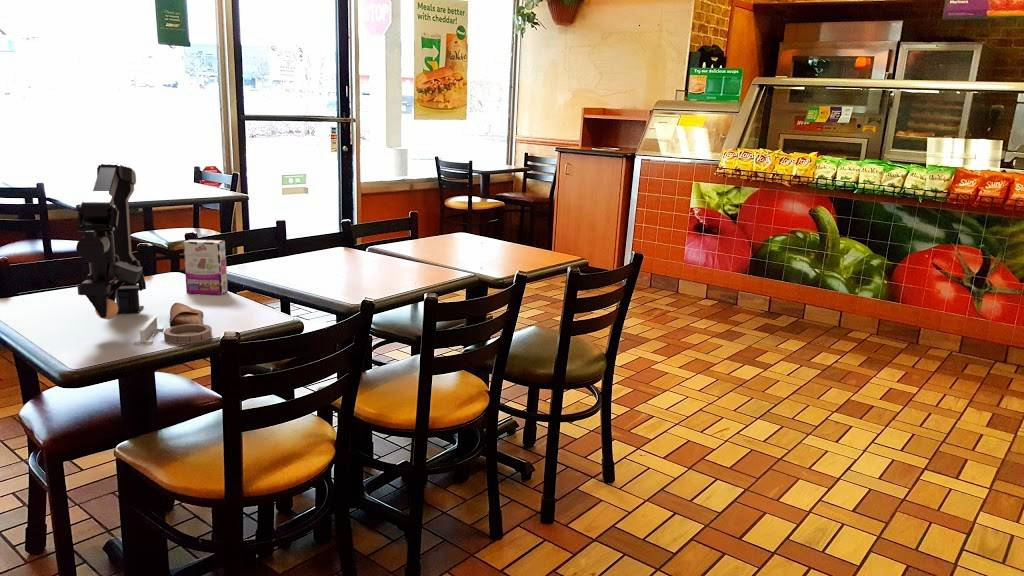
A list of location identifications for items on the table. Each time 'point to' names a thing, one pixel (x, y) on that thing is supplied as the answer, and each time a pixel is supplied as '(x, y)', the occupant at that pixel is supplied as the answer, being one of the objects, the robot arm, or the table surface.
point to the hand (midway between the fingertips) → (107, 314)
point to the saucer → (187, 334)
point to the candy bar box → (205, 267)
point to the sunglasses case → (184, 315)
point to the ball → (110, 309)
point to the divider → (148, 331)
